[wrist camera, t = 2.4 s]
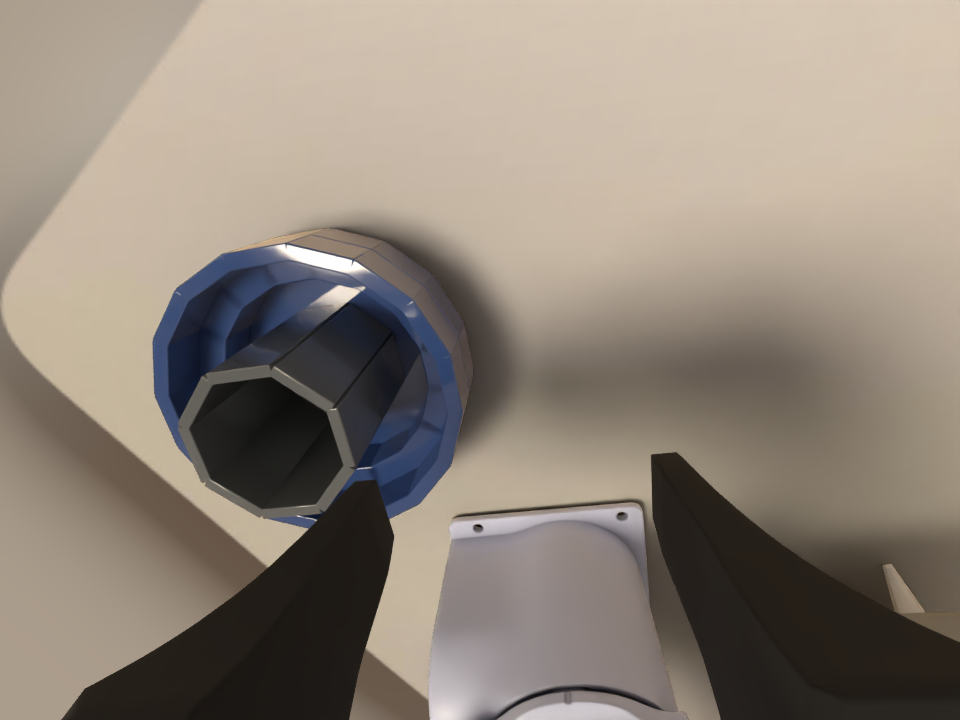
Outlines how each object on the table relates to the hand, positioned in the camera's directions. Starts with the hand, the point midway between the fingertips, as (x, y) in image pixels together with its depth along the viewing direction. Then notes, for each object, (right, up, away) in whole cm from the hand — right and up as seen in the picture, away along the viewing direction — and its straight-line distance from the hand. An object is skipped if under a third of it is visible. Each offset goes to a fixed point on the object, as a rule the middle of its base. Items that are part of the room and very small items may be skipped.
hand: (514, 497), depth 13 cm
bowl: (-7, +4, +10) cm, 12 cm away
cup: (-7, +3, +9) cm, 12 cm away
